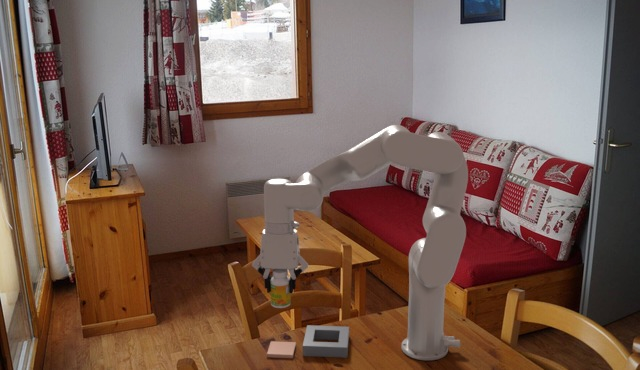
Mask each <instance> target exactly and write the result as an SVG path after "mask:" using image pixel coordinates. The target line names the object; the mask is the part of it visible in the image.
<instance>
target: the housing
mask: <svg viewBox="0 0 640 370" xmlns="http://www.w3.org/2000/svg"><path fill="white" fill-rule="evenodd" d="M349 339H350V326H340V325H339V326H338V325H336V326H335V325H331V326H330V325H315V324H314V325H313V324H312V325H311V324H310V325H308V324H307V325H306V328H305V334H304V339H303V342H302V357H323V358H345V359H347V358H348V352H349ZM316 340H323V341H316ZM325 340H327V341H325ZM328 341H329V342H328ZM331 341H338V342H331Z"/></svg>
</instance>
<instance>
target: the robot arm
mask: <svg viewBox="0 0 640 370" xmlns="http://www.w3.org/2000/svg"><path fill="white" fill-rule="evenodd" d="M391 164H393V165H397V166H400V167H404V168H408V169H413V170H414V169H415V170H417V171H418V170H419V171H424V172H428V173H429V172H430V173H434V175H433V183H432V187H431V191H430V194H429V197H428V200H427V204H426V208H425V209H424V213H423V215H422V226H423V228H424V230H425V233H426V237H423V238H420V239H417V240H416V241H415V242H414V243H413V244H412V245H411V248H410V250H409V253H408V274H409V275H408V279H409V280H408V281H409V283H408V287H409V288H408V308H407V309H408V311H407V312H408V313H407V337H406V338H404V339H403V340H402V342H401V351H402V352H403V353H404V354H405V355H406V356H408V357H409V358H411V359H415V360H419V361H435V360H441V359H442V358H444V357H446V356H447V354H448V352H449V347H453V348H460V347H461V341H460V339H455V336H452V335H451V336H450V335H448V336H447V335H446V334H445V333H444V315H445V314H444V313H445V299H446V286H447V285H448V284H449V283H450V282H451V281H452V278H453V277H454V274H455V272H456V269H457V267H458V263H459V262H460V258H461V254H462V251H463V247H464V246H465V245H464V244H465V241H466V239H467V238H466V237H467V227H466V222H465V221H464V219H463V217H462V215H461V212H462V206H463V203H464V200H465V196H466V191H467V186H468V183H469V168H468V163H467V160H466V157H465V155H464V152H463V148H462V147H461V145H460V144H459V143H458V142H457V141H456V140H455V139H454V138H453V137H452V136H451V135H449V134H447V133H445V132H442V131H434V132H432V133H430V134H428V135H423V134H419V133H414V132H410V130H409V129H408V128H407V127H405V126H403V125H402V124H401V125H400V124H391V125H389V126H386V127H385V128H383V129H381V130H380V131H378V132H377V133H375V134H373V135H372V136H370V137H368V138H367V139H365V140H363V141H362V142H360V143H358V144H356V145H355V146H353V147H351V148H350V149H348V150H346V151H344V152H342V153H339V154H337V155H336V156H333V157H331V158H329V159H326V160H324V161H322V162H320V163H319V164H317V165H315V166H314V167H312V168H310V169H309V170H307V171H305V172H304V173H303V174H301V175H300V176H299V177H298V178H297V179H296V180H295V183H293V182H292V181H291V180H290V179H287V178H271V179H269V180H266V181H265V183H264V185H263V203H264V204H263V205H264V208H263V209H264V229H263V230H262V234H261V239H260V252H259V253H260V254H258V256H257V257H256V258H255V259H254V260H253V261H252V263H251V267H253V268H254V269H255V270H256V271H257V272H258V273H259V274H260V275H261V276H262V278H263V279H264V289H266V293H268V294H270V293H271V291H270V280H271V278H272V275H271V270H274V269H287V270H288V273H289V275H290V277H289V278H290V293H291V295H292V294H293V293H294V290H296V288H297V278H298V276H300V274H302V273H303V272H304V271H305V270H307V269H308V267H309V263H308V262H307V261H306V260H305V258H303V256H302V255H301V254H300V241H299V235H298V230H297V229H298V228H300V222H297V221H295V218H294V216H295V215H294V213H295V212H294V210H296V211H303V212H312V211H316V210H317V209H318V208H320V207H321V205H322V204H323V201H324V194H325V193H326V192H329V191H330V190H331V189H333V188H336V187H337V186H339V185H341V184H344V183H347V182H358V181H359V182H360V181H364V180H365V179H368V178H370V177H371V176H373V175H375V174H376V173H378V172H380V171H382V170H383V169H385V168H387V167H388V166H389V165H391ZM299 265H300V266H299ZM298 266H299V267H298Z"/></svg>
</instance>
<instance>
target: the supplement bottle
mask: <svg viewBox="0 0 640 370" xmlns="http://www.w3.org/2000/svg"><path fill="white" fill-rule="evenodd" d="M288 273H289V270H288V269H272V276H271V280H270V305H271V306H272V307H273V308H276V309H284V308H288V307H289V306H290V305H291V297H292V294H291V293H290V277H289V276H288V275H289V274H288Z"/></svg>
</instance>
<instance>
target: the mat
mask: <svg viewBox="0 0 640 370" xmlns="http://www.w3.org/2000/svg"><path fill="white" fill-rule="evenodd" d="M296 346H297V342H296V341H273V340H271V341H270V343H269V346H268V349H267V352H266V358H274V359H275V358H277V359H294V355H295V352H296V351H295V350H296Z"/></svg>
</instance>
